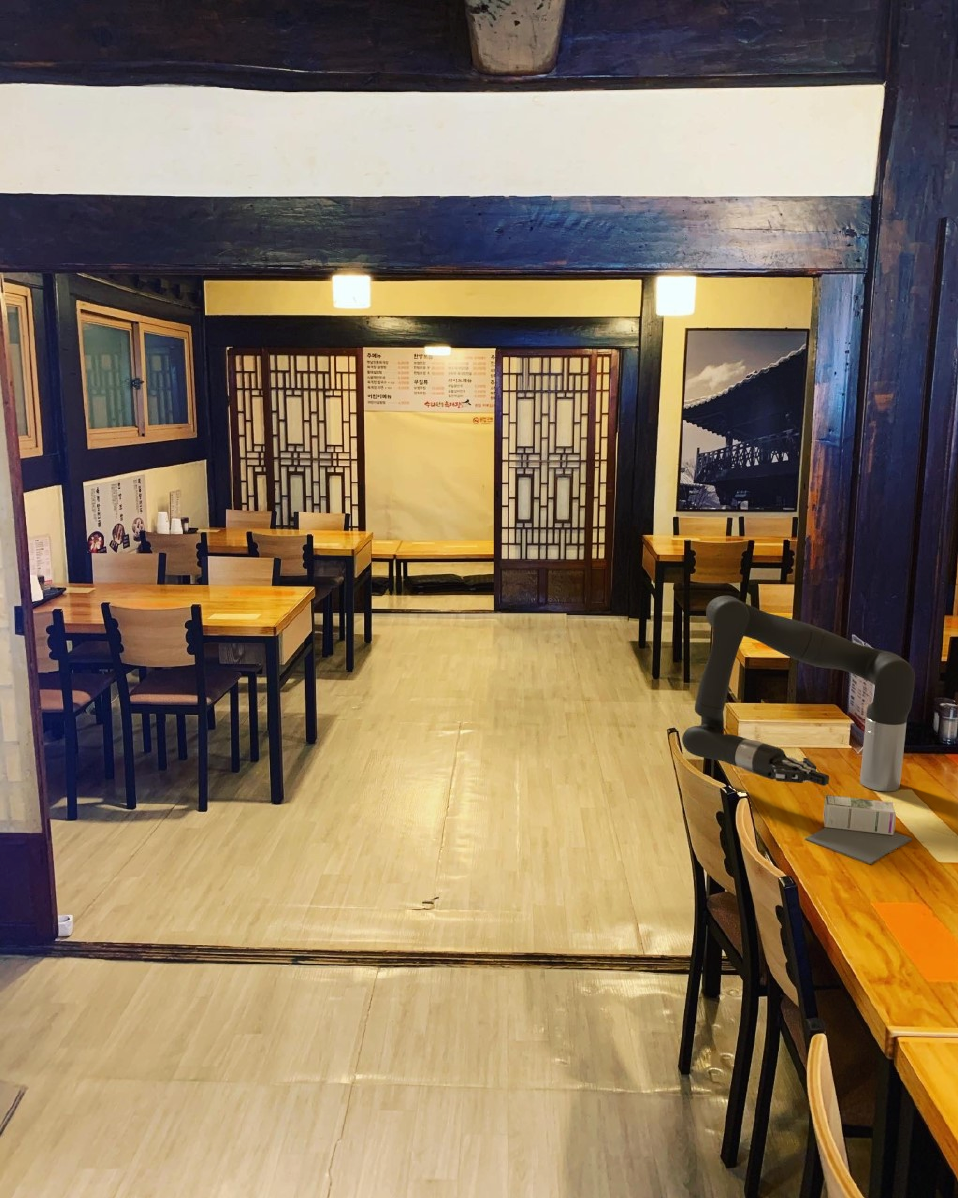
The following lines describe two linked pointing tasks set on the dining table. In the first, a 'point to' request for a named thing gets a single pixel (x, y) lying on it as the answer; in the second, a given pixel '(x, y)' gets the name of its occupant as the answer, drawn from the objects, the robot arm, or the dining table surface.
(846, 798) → the syrup box
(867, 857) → the mat
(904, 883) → the dining table surface
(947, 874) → the dining table surface
